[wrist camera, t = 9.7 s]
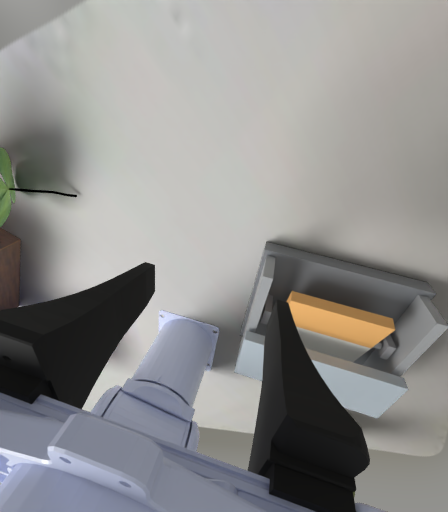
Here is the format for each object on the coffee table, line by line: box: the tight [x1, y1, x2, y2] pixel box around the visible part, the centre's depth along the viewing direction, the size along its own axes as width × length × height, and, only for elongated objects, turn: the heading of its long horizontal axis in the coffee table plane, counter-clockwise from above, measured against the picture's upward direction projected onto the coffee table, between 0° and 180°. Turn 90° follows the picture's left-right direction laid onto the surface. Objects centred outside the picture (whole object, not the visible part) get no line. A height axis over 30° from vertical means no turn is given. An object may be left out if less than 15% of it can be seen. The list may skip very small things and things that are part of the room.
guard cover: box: [234, 330, 408, 418], centre depth 22 cm, size 5×13×1 cm, turn 81°
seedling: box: [0, 148, 77, 227], centre depth 24 cm, size 7×8×7 cm
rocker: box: [287, 291, 395, 362], centre depth 22 cm, size 7×10×1 cm
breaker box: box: [235, 242, 448, 376], centre depth 23 cm, size 12×14×5 cm
